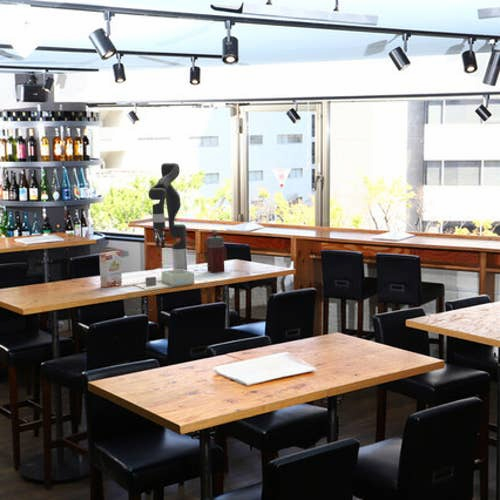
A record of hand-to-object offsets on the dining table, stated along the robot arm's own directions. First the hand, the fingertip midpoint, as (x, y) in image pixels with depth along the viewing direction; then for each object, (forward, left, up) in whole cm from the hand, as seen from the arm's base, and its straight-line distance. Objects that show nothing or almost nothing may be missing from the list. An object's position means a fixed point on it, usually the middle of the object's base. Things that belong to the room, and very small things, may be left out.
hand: (160, 247), depth 522 cm
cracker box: (-17, -26, -24) cm, 40 cm away
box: (+1, +11, -24) cm, 26 cm away
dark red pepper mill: (-24, +51, -24) cm, 61 cm away
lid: (0, -7, -24) cm, 25 cm away
